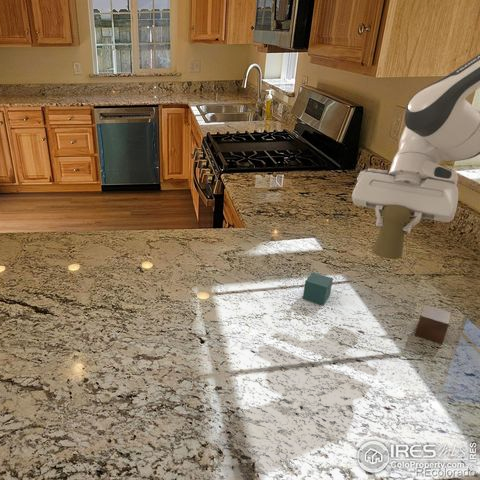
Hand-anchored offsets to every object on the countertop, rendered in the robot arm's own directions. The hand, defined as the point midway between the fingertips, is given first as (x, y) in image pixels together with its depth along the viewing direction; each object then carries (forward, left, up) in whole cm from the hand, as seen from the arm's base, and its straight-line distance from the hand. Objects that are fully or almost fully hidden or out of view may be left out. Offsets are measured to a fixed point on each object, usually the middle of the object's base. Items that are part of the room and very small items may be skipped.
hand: (392, 229), depth 92 cm
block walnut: (-4, +12, -19) cm, 23 cm away
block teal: (+12, -6, -19) cm, 23 cm away
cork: (0, 0, -6) cm, 6 cm away
